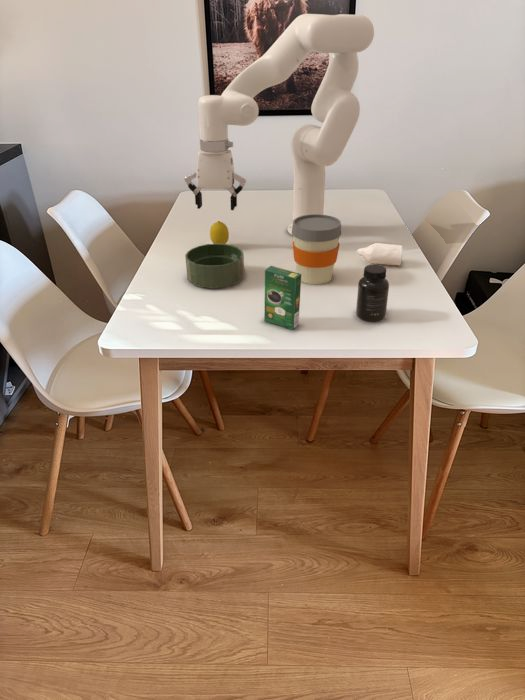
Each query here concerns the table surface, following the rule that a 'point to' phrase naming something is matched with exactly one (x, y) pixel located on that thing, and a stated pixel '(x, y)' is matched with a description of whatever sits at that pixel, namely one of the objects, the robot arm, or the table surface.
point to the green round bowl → (215, 265)
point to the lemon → (219, 233)
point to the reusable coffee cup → (316, 246)
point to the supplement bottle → (372, 294)
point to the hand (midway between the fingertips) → (216, 208)
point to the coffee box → (282, 297)
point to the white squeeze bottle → (382, 254)
